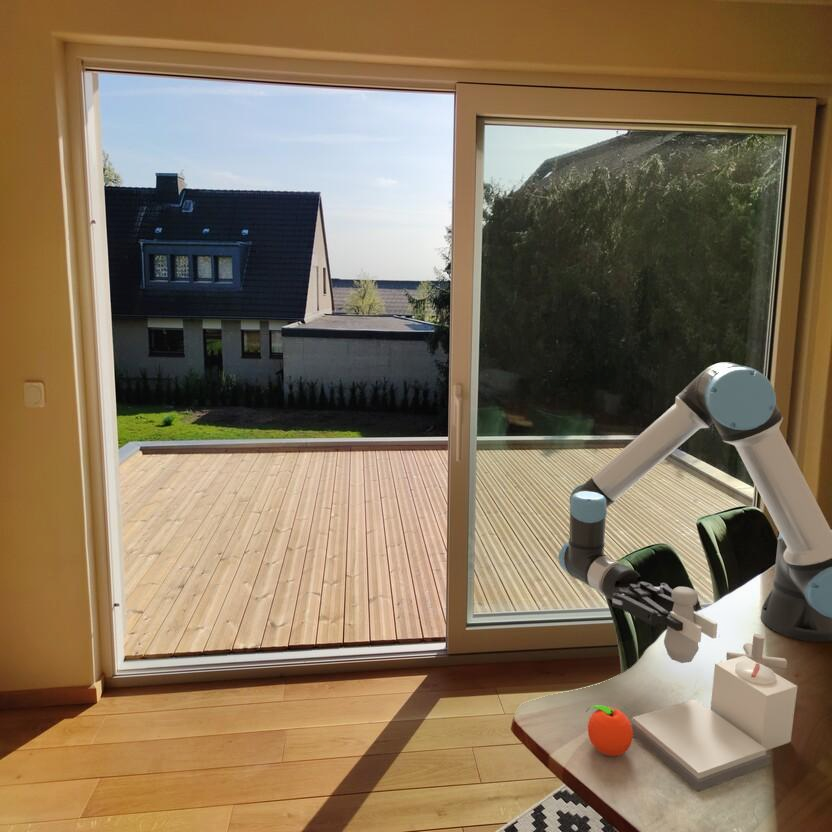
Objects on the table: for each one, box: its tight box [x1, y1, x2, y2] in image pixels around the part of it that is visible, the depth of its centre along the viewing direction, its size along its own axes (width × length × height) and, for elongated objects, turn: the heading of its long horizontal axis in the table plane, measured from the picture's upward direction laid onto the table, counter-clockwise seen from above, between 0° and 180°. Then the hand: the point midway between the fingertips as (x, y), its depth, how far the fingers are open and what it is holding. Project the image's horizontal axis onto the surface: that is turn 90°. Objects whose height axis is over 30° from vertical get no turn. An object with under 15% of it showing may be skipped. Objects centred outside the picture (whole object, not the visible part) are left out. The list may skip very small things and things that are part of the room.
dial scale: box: [629, 656, 798, 792], centre depth 104 cm, size 23×15×11 cm, turn 113°
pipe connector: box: [725, 633, 788, 670], centre depth 120 cm, size 10×10×10 cm
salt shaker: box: [663, 586, 699, 664], centre depth 116 cm, size 6×6×13 cm
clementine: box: [585, 704, 634, 757], centre depth 102 cm, size 8×7×7 cm
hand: (707, 632), depth 110 cm, fingers closed on salt shaker, 3 cm apart
